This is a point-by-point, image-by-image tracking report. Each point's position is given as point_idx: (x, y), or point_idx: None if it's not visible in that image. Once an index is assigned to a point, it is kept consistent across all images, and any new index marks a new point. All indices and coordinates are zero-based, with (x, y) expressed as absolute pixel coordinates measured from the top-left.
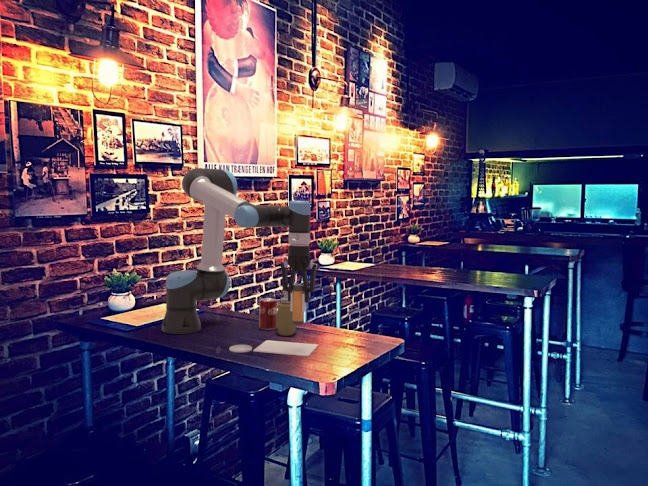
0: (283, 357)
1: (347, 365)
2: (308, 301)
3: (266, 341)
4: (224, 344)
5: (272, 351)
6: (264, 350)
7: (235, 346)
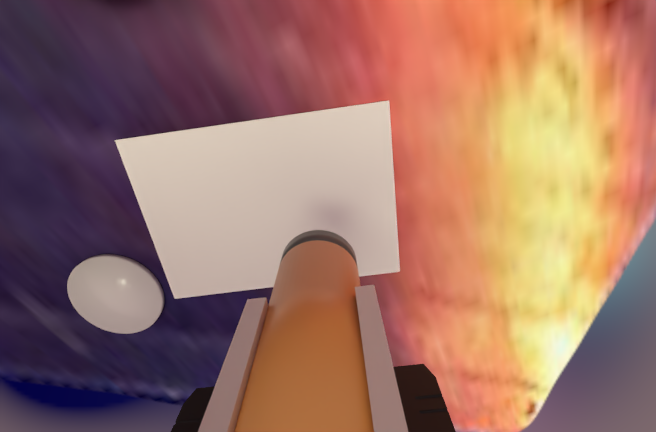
0: None
1: (560, 303)
2: (425, 366)
3: (131, 162)
4: (9, 262)
5: (248, 283)
6: (213, 284)
7: (84, 291)
